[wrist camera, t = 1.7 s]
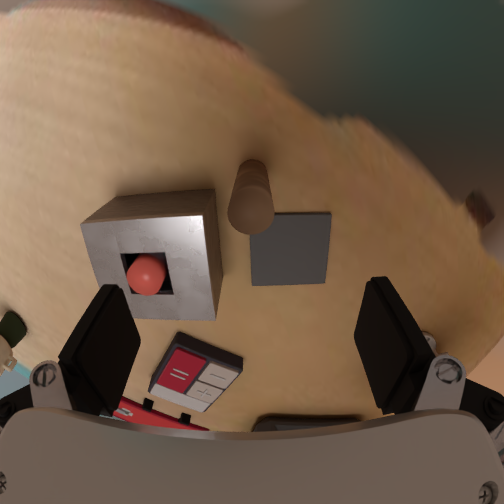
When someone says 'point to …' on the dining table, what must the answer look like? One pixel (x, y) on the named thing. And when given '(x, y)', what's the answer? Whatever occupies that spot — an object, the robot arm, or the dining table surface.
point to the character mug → (9, 340)
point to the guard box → (161, 240)
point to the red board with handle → (152, 416)
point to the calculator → (194, 373)
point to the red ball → (147, 273)
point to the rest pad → (291, 250)
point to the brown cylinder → (251, 199)
